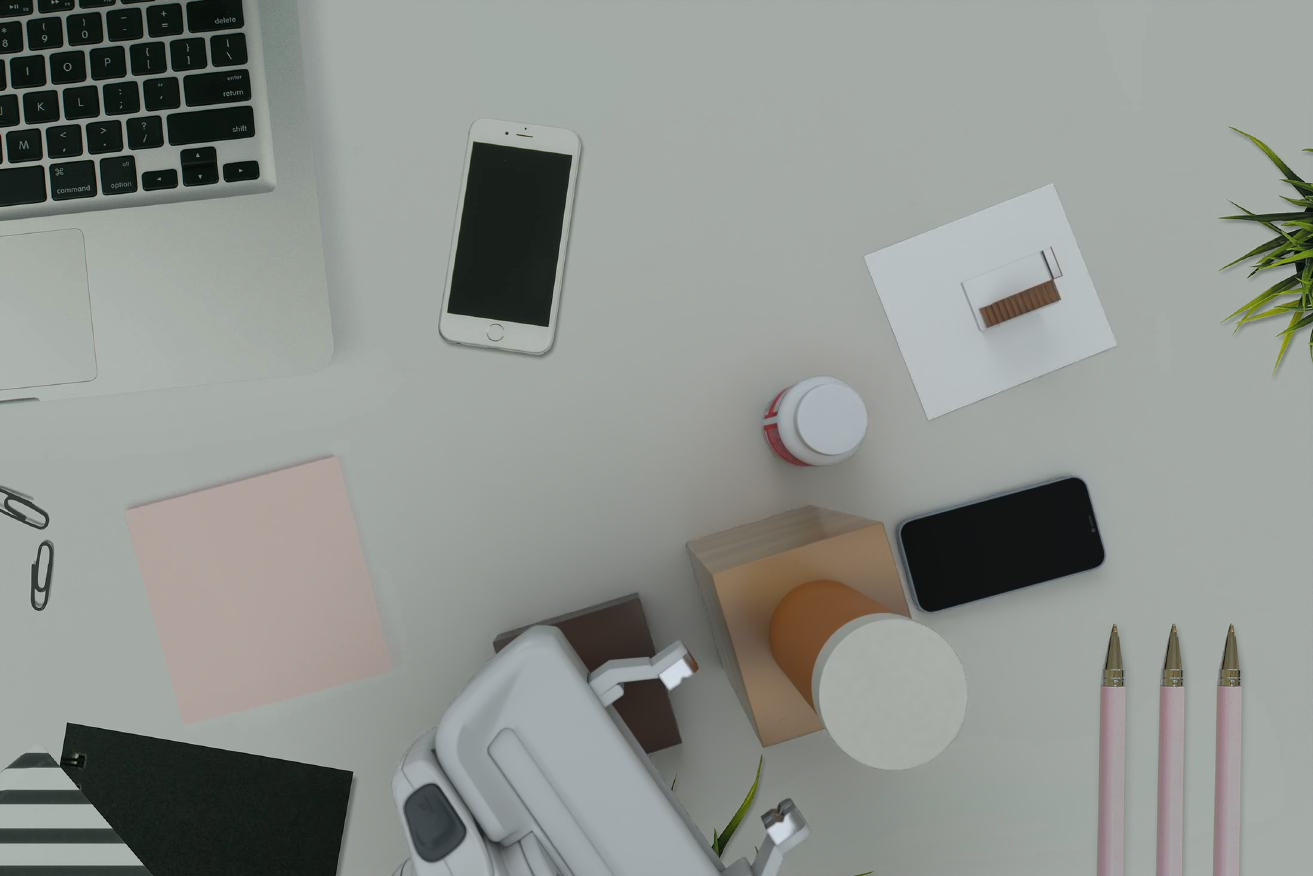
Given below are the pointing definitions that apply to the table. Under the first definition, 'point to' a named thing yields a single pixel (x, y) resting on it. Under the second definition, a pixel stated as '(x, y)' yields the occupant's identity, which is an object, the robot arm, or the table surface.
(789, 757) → the table surface
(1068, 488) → the smartphone
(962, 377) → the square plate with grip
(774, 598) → the oak stand
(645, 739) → the walnut block
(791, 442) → the pill bottle
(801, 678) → the amber bottle
